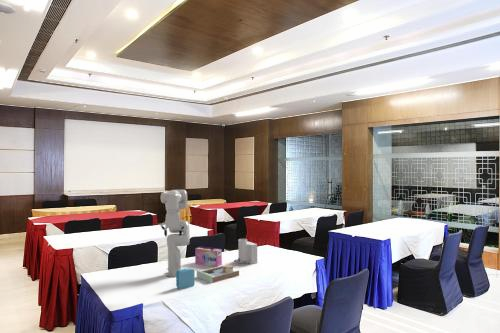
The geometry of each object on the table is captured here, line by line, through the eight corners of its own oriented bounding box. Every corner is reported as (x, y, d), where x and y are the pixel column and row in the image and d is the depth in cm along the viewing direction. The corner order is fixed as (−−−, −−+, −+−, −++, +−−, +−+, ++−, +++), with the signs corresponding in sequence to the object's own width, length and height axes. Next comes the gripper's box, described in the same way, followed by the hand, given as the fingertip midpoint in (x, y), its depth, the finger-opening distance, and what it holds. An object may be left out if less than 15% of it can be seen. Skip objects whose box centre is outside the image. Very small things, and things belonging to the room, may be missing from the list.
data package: (191, 284, 249) (191, 267, 249) (194, 285, 245) (194, 268, 245) (176, 287, 241) (176, 270, 241) (179, 289, 238) (178, 272, 238)
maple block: (222, 271, 272) (222, 265, 272) (229, 269, 276) (228, 264, 276) (226, 272, 268) (226, 267, 268) (232, 270, 272) (232, 265, 272)
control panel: (257, 262, 301) (257, 239, 301) (239, 266, 291) (239, 242, 291) (247, 258, 315) (246, 236, 315) (229, 262, 304) (229, 239, 304)
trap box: (196, 277, 264) (196, 270, 264) (224, 270, 282) (224, 263, 282) (211, 283, 250) (211, 276, 250) (239, 275, 267) (239, 268, 267)
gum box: (193, 263, 301) (193, 248, 301) (198, 261, 308) (198, 246, 308) (217, 267, 291) (217, 250, 291) (222, 264, 298) (222, 248, 298)
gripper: (186, 210, 245) (186, 234, 245) (161, 210, 244) (161, 235, 244) (184, 211, 237) (185, 236, 237) (159, 212, 236) (159, 237, 236)
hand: (173, 236), depth 240 cm, fingers open, 9 cm apart
